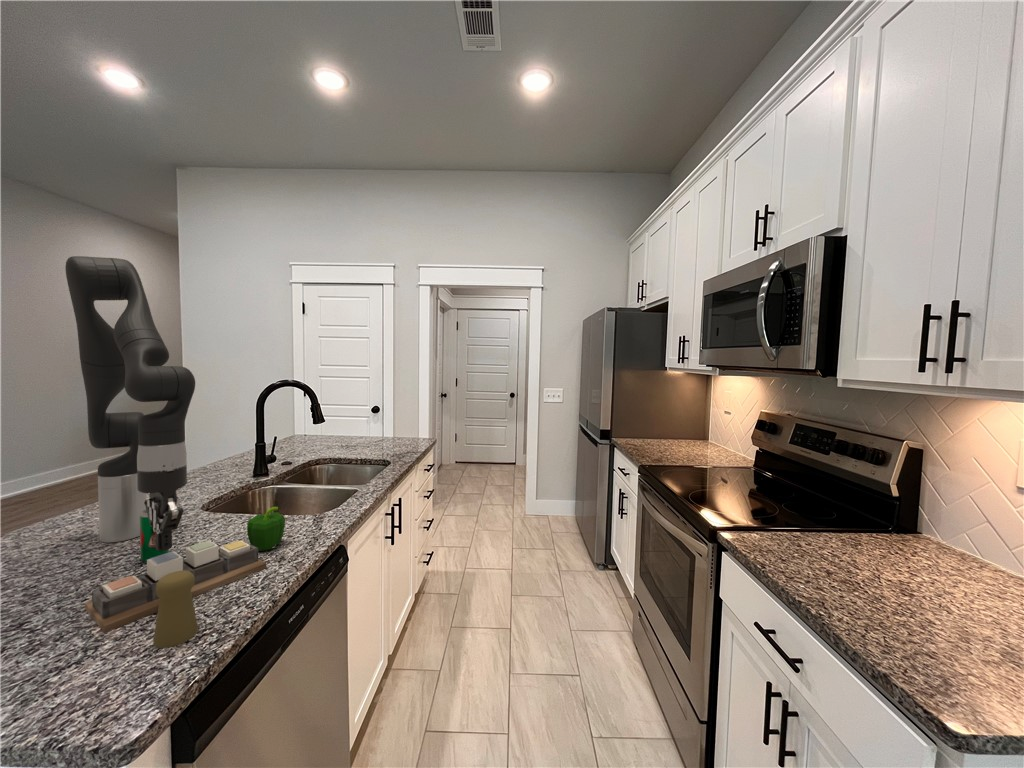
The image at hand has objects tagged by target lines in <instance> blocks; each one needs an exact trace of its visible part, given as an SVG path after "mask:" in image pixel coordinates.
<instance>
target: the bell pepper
mask: <svg viewBox="0 0 1024 768" xmlns="http://www.w3.org/2000/svg"><path fill="white" fill-rule="evenodd" d="M278 510H279V507H278V506H273V507H269V508H268V509H267V510H266V511H265V514H260V513H259V514H256V515H255V516H254V517H253V518H249V519H248V521H247V524H246V532H247V533H246V534H247V537H248V540H249V544H251V545H253V546H255V547H257V548H258V552H264V551H265V552H266V551H269V550H273V548H275V547H276V546H277V545H279V544H280V543H281V541H282V540H283V536H284V532H285V529H286V528H285V527H286V518H285V516H284V515H283V514H281V513H279V512H278ZM273 511H274V512H273Z"/></svg>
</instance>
